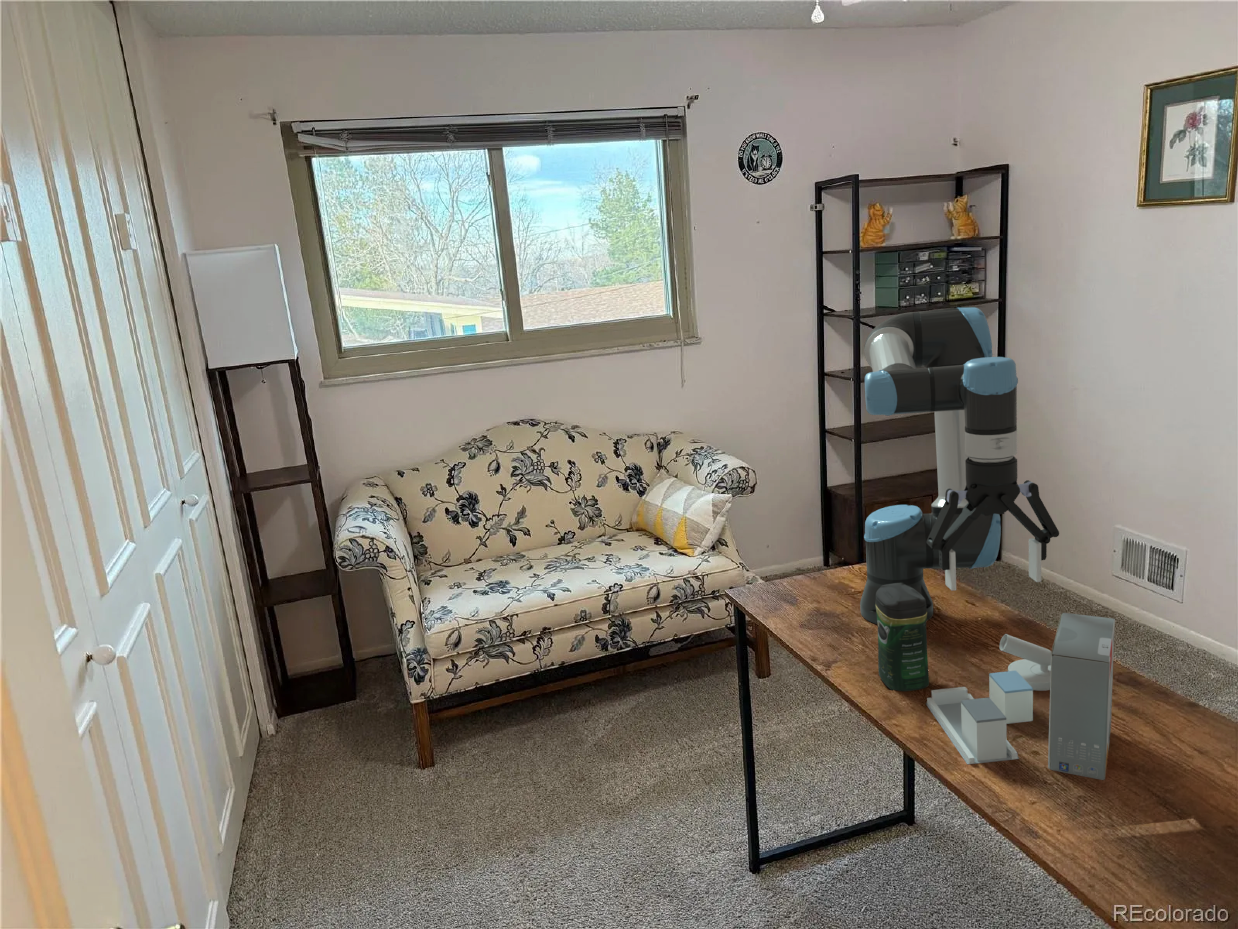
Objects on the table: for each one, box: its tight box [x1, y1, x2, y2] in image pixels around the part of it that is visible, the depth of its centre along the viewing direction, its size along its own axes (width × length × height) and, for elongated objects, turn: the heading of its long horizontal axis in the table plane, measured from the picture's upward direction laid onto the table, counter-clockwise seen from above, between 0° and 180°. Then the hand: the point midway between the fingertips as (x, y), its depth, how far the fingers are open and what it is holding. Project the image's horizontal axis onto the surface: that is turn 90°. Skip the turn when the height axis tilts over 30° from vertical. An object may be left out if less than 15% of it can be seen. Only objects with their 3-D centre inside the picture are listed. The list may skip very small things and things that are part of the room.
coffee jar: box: [875, 583, 930, 692], centre depth 155 cm, size 10×8×19 cm
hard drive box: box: [1047, 612, 1116, 781], centre depth 129 cm, size 16×8×20 cm, turn 148°
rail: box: [925, 686, 1020, 765], centre depth 138 cm, size 18×8×3 cm, turn 0°
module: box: [988, 670, 1034, 725], centre depth 141 cm, size 6×4×7 cm
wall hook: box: [999, 633, 1052, 692], centre depth 150 cm, size 9×10×10 cm
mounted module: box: [961, 697, 1008, 761], centre depth 132 cm, size 6×4×7 cm
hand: (992, 583), depth 138 cm, fingers open, 13 cm apart
